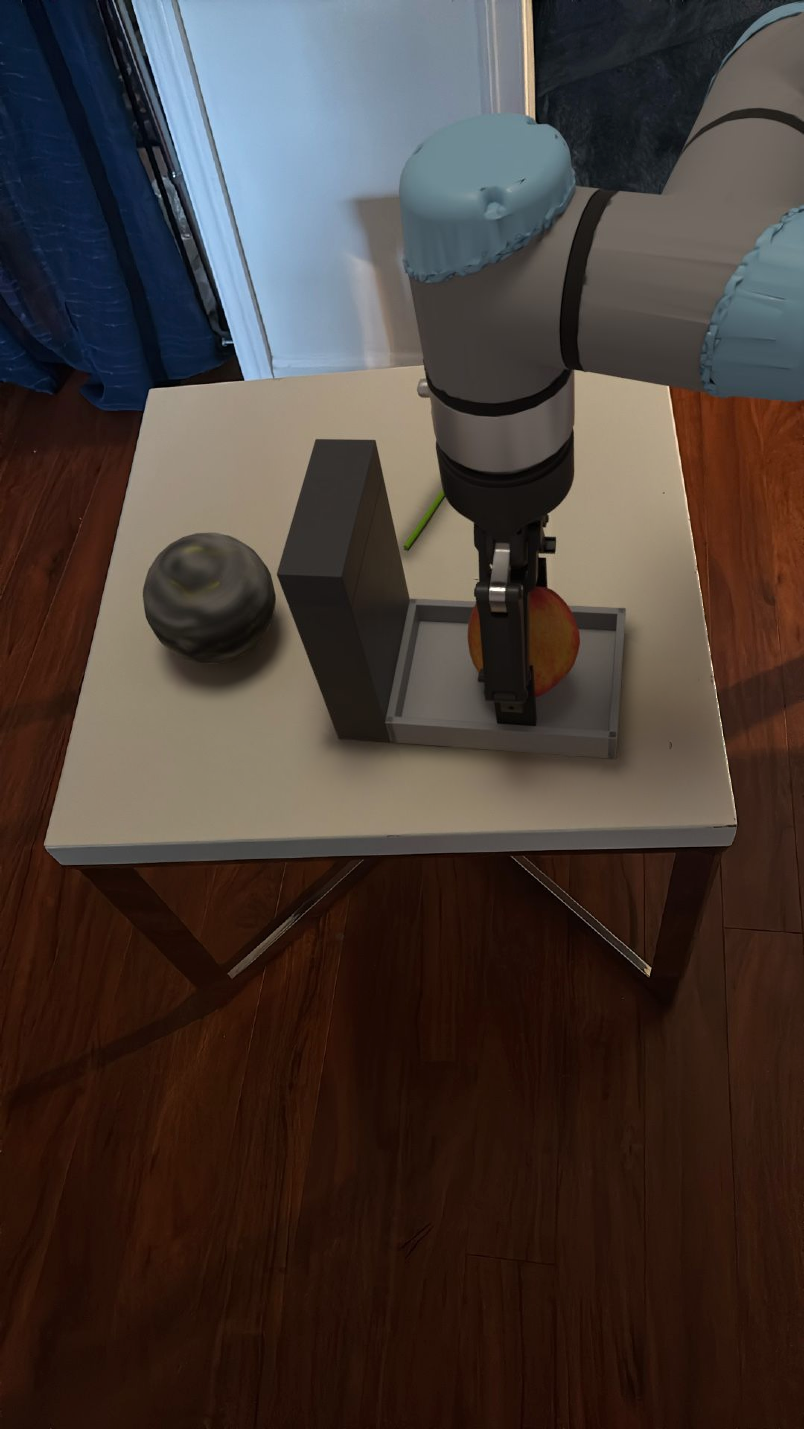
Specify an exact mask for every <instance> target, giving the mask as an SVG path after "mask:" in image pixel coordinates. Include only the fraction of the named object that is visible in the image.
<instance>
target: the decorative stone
mask: <svg viewBox="0 0 804 1429" xmlns="http://www.w3.org/2000/svg"><path fill="white" fill-rule="evenodd" d="M142 602H143V608H144V615H145V619H146V622H147V623H148V625H149V627H150V629H151V630H152V631H153V633H154V635H155V637H156V638H157V639H158V641H159V642H160V643H161V644H162V645H163V646H164V647H165V648H167V649H168V650H169V651H171V652H172V653H174V654H175V655H177V656H178V657H179V658H182V659H184V660H187V661H191V662H194V663H198V664H203V665H205V664H206V665H214V664H215V665H216V664H223V663H227V662H230V661H234V660H237V659H239V658H241V657H242V656H244V655H246V654H247V653H249V652H251V651H252V650H253V649H254V648H255V647H256V646H257V645H258V644H259V643H260V642H261V641H262V640H263V639H264V637H265V636H266V634H267V632H268V630H269V628H270V627H271V625H272V623H273V619H274V613H275V609H276V602H277V597H276V590H275V586H274V581H273V577H272V574H271V572H270V570H269V568H268V565H267V564H265V562H264V561H263V560H262V558H261V557H260V556H259V554H258V553H257V552H256V551H255V549H253V548H252V547H250V546H249V545H247V544H246V543H244V542H243V541H241V540H240V539H238V538H236V537H234V536H232V535H226V534H222V533H219V532H195V533H193V534H188V535H185V536H182V537H180V538H178V539H177V540H175V541H173V542H171V543H169V544H168V545H167V546H166V547H165V548H164V549H163V550H162V551H160V552H159V553H158V555H157V556H156V557H155V559H154V560H153V562H152V564H151V565H150V567H148V570H147V573H146V576H145V580H144V584H143V588H142Z"/></svg>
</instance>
